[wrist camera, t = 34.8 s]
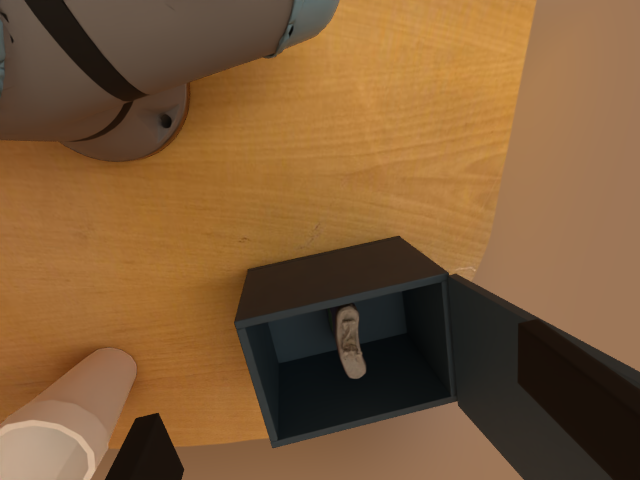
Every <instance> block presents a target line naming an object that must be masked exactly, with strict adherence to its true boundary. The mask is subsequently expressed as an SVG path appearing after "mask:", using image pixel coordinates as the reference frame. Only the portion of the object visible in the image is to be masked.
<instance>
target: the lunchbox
mask: <svg viewBox="0 0 640 480" xmlns="http://www.w3.org/2000/svg"><path fill="white" fill-rule="evenodd" d="M448 276H449V273H448V272H447V271H445V270H444V269H443V268H441V267H440V266H439V265H437V264H436V263H435V262H433V261H432V260H431V259H429V258H428V257H427V256H425V255H424V254H422V253H421V252H420V251H418V250H417V249H416V248H414V247H413V246H412V245H410V244H409V243H408V242H406V241H405V240H404V239H402V238H401V237H400V236H397V237H392V238H387V239H383V240H378V241H374V242H369V243H365V244H360V245H356V246H351V247H346V248H342V249H337V250H333V251H328V252H324V253H319V254H315V255H310V256H306V257H301V258H296V259H292V260H287V261H283V262H278V263H274V264H269V265H265V266H260V267H256V268H251V269H248V271H247V275H246V279H245V283H244V287H243V291H242V294H241V298H240V302H239V306H238V309H237V313H236V317H235V321H234V323H235V327H236V329H237V333H238V337H239V340H240V343H241V346H242V350H243V353H244V356H245V360H246V363H247V366H248V369H249V373H250V376H251V379H252V383H253V386H254V389H255V392H256V396H257V399H258V402H259V406H260V409H261V412H262V415H263V419H264V422H265V425H266V429H267V432H268V435H269V438H270V441H271V445H272V448H276V447H280V446H283V445H288V444H291V443H295V442H299V441H303V440H307V439H311V438H315V437H319V436H322V435H327V434H331V433H335V432H339V431H342V430H346V429H350V428H354V427H358V426H361V425H366V424H370V423H374V422H377V421H381V420H386V419H389V418H393V417H397V416H401V415H405V414H409V413H413V412H416V411H421V410H424V409H429V408H432V407H436V406H440V405H444V404H448V403H452V402H456V401H458V398H457V385H456V372H455V359H454V346H453V334H452V321H451V308H450V295H449V282H448ZM349 303H354V304H355V306H356V308H357V310H358V312H359V324H358V335H359V342H360V348H361V352H362V355H363V358H364V360H365V362H366V373H365V374H364V375H363V376H362V377H360V378H359V379H353V378H350V377H348V375H347V374H346V373H345V370H344V368H343V365H342V363H341V361H340V357H339V354H338V350H337V348H336V343H335V340H334V336H333V333H332V330H331V327H330V324H329V320H328V316H327V312H326V309H327V308H331V307H336V306H340V305H344V304H349Z"/></svg>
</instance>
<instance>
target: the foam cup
mask: <svg viewBox="0 0 640 480" xmlns="http://www.w3.org/2000/svg"><path fill="white" fill-rule="evenodd" d="M136 375H137V365H136V363H135V361H134V360H133V358H132V357H131V356H130V355H129V354H127V353H126V352H124V351H123V350H120V349H115V348H110V347H109V348H103V349H98V350H96V351H95V352H93V353H92V354H90V355H89V356H87V357H86V358H85V359H83V360H82V361H81V362H80V363H78V364H77V365H76V366H74V367H73V368H72V369H71V370H69V371H68V372H67V373H66V374H64V375H63V376H62V377H61V378H59V379H58V380H57V381H56V382H54V383H53V384H52V385H51V386H49V387H48V388H47V389H45V390H44V391H43V392H42V393H40V394H39V395H38V396H37V397H35V398H34V399H33V400H32V401H30V402H29V403H28V404H26V405H25V406H23V407H22V408H20V409H19V410H17V411H15V412H14V413H12V414H11V415H9V416H8V417H7V418H6V419H5V420H4V421H3V422H2V423H1V424H0V480H90V479H91V477H92V476H93V474H94V472H95V470H96V469H97V467H98V465H99V463H100V462H101V460H102V458H103V456H104V454H105V453H106V451H107V449H108V442H109V440H110V438H111V435H112V433H113V430H114V428H115V426H116V423H117V421H118V418H119V416H120V414H121V411H122V409H123V406H124V404H125V402H126V399H127V397H128V394H129V392H130V390H131V387H132V385H133V382H134V380H135V378H136Z"/></svg>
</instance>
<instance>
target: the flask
mask: <svg viewBox="0 0 640 480" xmlns="http://www.w3.org/2000/svg"><path fill="white" fill-rule="evenodd" d="M326 312H327V316H328V320H329V324H330V327H331V330H332V333H333V336H334V340H335V343H336V348H337V350H338V354H339V357H340V361H341V363H342V365H343V368H344V370H345V373H346V374H347V375H348V377H350V378H353V379H359V378H360V377H362V376H363V375H364V374H365V373H366V362H365V360H364V358H363V355H362V352H361V348H360V342H359V335H358V324H359V312H358V310H357V308H356V306H355V304H354V303H349V304H344V305H340V306H336V307H331V308H327V309H326Z"/></svg>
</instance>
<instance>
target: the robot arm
mask: <svg viewBox="0 0 640 480" xmlns="http://www.w3.org/2000/svg"><path fill="white" fill-rule="evenodd" d="M338 3H339V0H0V140H14V141H58V142H60V143H61V144H63V145H64V146H66V147H68V148H70V149H72V150H74V151H76V152H78V153H80V154H83V155H85V156H88V157H91V158H95V159H99V160H105V161H116V162H117V161H132V160H139V159H143V158H146V157H149V156H152V155H154V154H156V153H158V152H159V151H161V150H162V149H164V148H165V147H166V146H168V145H169V144H170V143H171V142H172V141H173V140H174V139H175V137H176V136H177V135H178V133H179V132H180V130H181V129H182V127H183V125H184V123H185V120H186V117H187V114H188V110H189V104H190V84H189V82H191V81H194V80H197V79H200V78H203V77H206V76H209V75H212V74H215V73H217V72H220V71H223V70H226V69H229V68H232V67H235V66H238V65H241V64H244V63H247V62H250V61H253V60H256V59H259V58H261V57H264V58H273V57H276V56H277V55H278V54H280V53H281V52H282V51H283V50H284V49H286V48H288V47H291V46H293V45H296V44H298V43H301V42H303V41H306V40H308V39H311V38H313V37H315V36H316V35H318V34H319V33H320V32H321V31H322V30H323V29H324V28H325V27H326V25H327V24H328V23H329V22H330V21H331V19H332V17H333V15H334V13H335V11H336V8H337V6H338ZM517 383H518V384H519V385H520V386H521V387H522V388H523V389H524V390H525V391H526V392H527V393H528V394H529V395H530V396H531V397H532V398H533V399H534V400H535V401H536V402H537V403H538V404H539V405H540V406H541V407H542V408H543V409H544V410H545V411H546V412H547V413H548V414H549V415H550V416H551V417H552V418H553V419H554V420H555V421H556V422H557V423H558V424H559V425H560V426H561V427H562V428H563V430H564V431H565V432H566V433H567V434H568V435H569V436H570V437H571V438H572V439H573V440H574V441H575V442H576V443H577V444H578V445H579V446H580V447H581V448H582V449H583V450H584V451H585V452H586V453H587V454H588V455H589V456H590V457H591V458H592V459H593V460H594V461H595V462H596V463H597V464H598V465H599V466H600V467H601V468H602V469H603V470H604V471H605V472H606V473H607V474H608V475H609V476H610V477H611V478H612V479H613V480H640V389H639V388H637V387H636V386H634V385H633V384H631V383H630V382H629V381H627V380H626V379H624V378H623V377H621V376H620V375H618V374H617V373H616V372H614V371H613V370H611V369H610V368H608V367H607V366H605V365H604V364H603V363H601V362H600V361H598V360H597V359H595V358H594V357H592V356H591V355H589V354H588V353H587V352H585V351H584V350H582V349H581V348H579V347H578V346H576V345H575V344H574V343H572V342H571V341H569V340H568V339H566V338H565V337H563V336H562V335H560V334H559V333H558V332H556V331H555V330H553V329H552V328H550V327H549V326H547V325H546V324H545V323H543V322H542V321H540V320H539V319H534V320H530V321H526V322H522V323H518V375H517ZM183 472H184V468H183V466H182V464H181V462H180V459H179V457H178V455H177V453H176V450H175V448H174V446H173V444H172V442H171V439H170V437H169V435H168V433H167V430H166V428H165V426H164V424H163V422H162V419H161V417H160V415H159V413H155V414H151V415H147V416H143V417H139V418H136V419H135V421H134V423H133V425H132V427H131V429H130V431H129V433H128V435H127V437H126V439H125V441H124V443H123V445H122V447H121V449H120V451H119V453H118V455H117V457H116V459H115V461H114V463H113V465H112V467H111V468H110V470H109V472H108V475H107V476H106V479H105V480H181V479H182V475H183Z"/></svg>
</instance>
